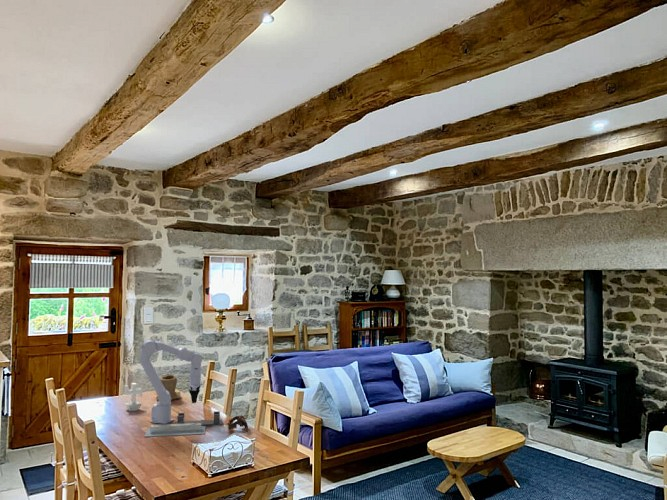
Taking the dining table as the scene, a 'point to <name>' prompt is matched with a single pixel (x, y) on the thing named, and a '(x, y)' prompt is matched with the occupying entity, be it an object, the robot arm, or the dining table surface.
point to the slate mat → (175, 433)
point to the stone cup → (170, 386)
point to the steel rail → (175, 427)
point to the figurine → (133, 397)
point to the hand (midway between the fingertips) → (194, 401)
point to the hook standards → (203, 422)
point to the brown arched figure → (240, 421)
